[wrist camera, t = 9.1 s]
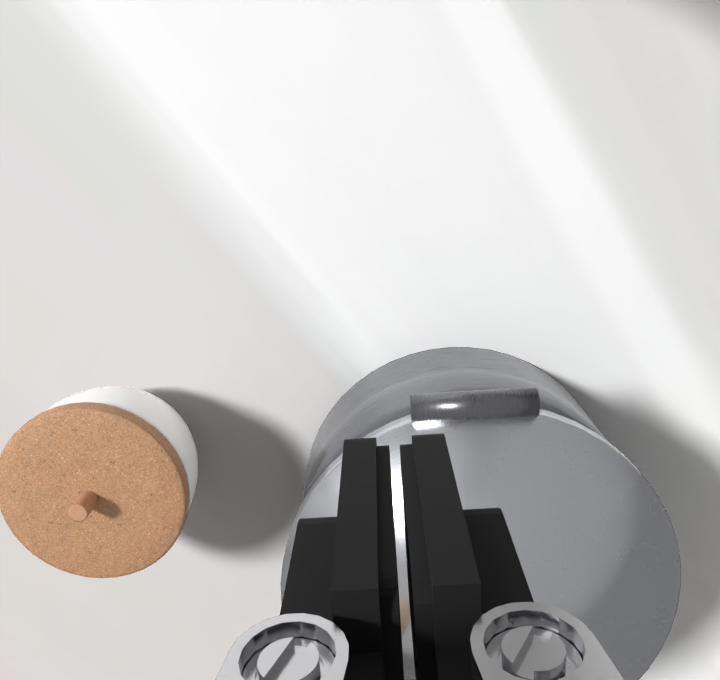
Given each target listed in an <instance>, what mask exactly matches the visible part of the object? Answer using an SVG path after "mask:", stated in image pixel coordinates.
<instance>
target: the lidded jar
mask: <svg viewBox="0 0 720 680" xmlns="http://www.w3.org/2000/svg"><path fill="white" fill-rule="evenodd" d="M197 478H198V456H197V450H196V446H195V443H194V440H193V437H192V434H191V432H190V430H189V428H188V426H187V424H186V423H185V421H184V420H183V419H182V417H181V416H180V415H179V414H178V413H177V412H176V411H175V410H174V409H173V408H172V407H171V406H170V405H169V404H167V403H166V402H165V401H163V400H162V399H160V398H159V397H157V396H155V395H153V394H151V393H149V392H146V391H143V390H141V389H137V388H132V387H126V386H101V387H96V388H91V389H87V390H84V391H81V392H78V393H76V394H73V395H71V396H68V397H66V398H64V399H63V400H61V401H59V402H57V403H56V404H54V405H53V406H51V407H49V408H48V409H47V410H45V411H44V412H42V413H41V414H39V415H37V416H36V417H34V418H33V419H31V420H29V421H28V422H27V423H26V424H25V425H23V426H22V427H21V428H20V429H19V430H18V431H17V432H16V433H15V434H14V435H13V436H12V437H11V439H10V440H9V441H8V443H7V444H6V446H5V448H4V450H3V452H2V454H1V456H0V510H1V512H2V515H3V517H4V519H5V521H6V523H7V525H8V526H9V528H10V529H11V531H12V533H13V534H14V535H15V537H16V538H17V539H18V540H19V541H20V542H21V543H22V544H23V545H24V546H25V547H26V548H27V549H28V550H29V551H30V552H31V553H32V554H34V555H35V556H36V557H38V558H40V559H41V560H43V561H44V562H46V563H48V564H50V565H51V566H53V567H55V568H57V569H59V570H62V571H65V572H69V573H72V574H75V575H80V576H85V577H95V578H109V577H119V576H124V575H128V574H132V573H135V572H137V571H140V570H143V569H145V568H146V567H148V566H150V565H152V564H153V563H155V562H156V561H157V560H159V559H160V558H161V557H162V556H164V555H165V554H166V553H167V552H168V550H169V549H170V548H171V547H172V546H173V544H174V543H175V541H176V539H177V538H178V536H179V534H180V533H181V531H182V528H183V526H184V523H185V520H186V518H187V515H188V511H189V508H190V505H191V503H192V500H193V497H194V493H195V489H196V484H197Z"/></svg>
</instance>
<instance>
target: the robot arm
mask: <svg viewBox="0 0 720 680" xmlns="http://www.w3.org/2000/svg"><path fill="white" fill-rule="evenodd" d="M400 461H401V477H402V494H403V510H404V527H405V543H406V560H407V576H408V592H409V605H410V618H411V630H412V642H413V655H414V667H415V679H416V680H624V679H623V677H622V676H621V674H620V673H619V672H618V670H617V669H616V667H615V666H614V664H613V663H612V661H611V660H610V658H609V657H608V655H607V654H606V652H605V651H604V649H603V648H602V646H601V645H600V643H599V642H598V640H597V639H596V637H595V636H594V634H593V633H592V632H591V631H590V630H589V629H588V627H587V626H586V625H585V624H584V623H583V622H582V621H581V620H579V619H578V618H576V617H574V616H573V615H571V614H570V613H568V612H567V611H564V610H561V609H559V608H556V607H553V606H550V605H547V604H540V603H534V601H533V598H532V595H531V592H530V589H529V586H528V584H527V581H526V578H525V575H524V572H523V569H522V566H521V564H520V561H519V558H518V555H517V552H516V549H515V546H514V544H513V541H512V538H511V535H510V532H509V529H508V526H507V524H506V521H505V518H504V515H503V512H502V510H501V508H483V509H465V510H463V508H462V504H461V500H460V496H459V492H458V488H457V484H456V480H455V475H454V471H453V467H452V463H451V459H450V455H449V451H448V447H447V443H446V439H445V435H444V433H443V434H426V435H412V444H403V445H400ZM215 680H404V668H403V652H402V635H401V619H400V602H399V586H398V571H397V556H396V541H395V525H394V510H393V495H392V479H391V464H390V449H389V445H385V446H377V441H376V438H359V439H344V444H343V455H342V466H341V477H340V488H339V499H338V510H337V517H319V518H301V519H299V520H298V524H297V528H296V534H295V539H294V544H293V549H292V554H291V560H290V565H289V570H288V575H287V581H286V586H285V591H284V596H283V601H282V607H281V612H280V616H276V617H272V618H268V619H266V620H264V621H262V622H260V623H258V624H256V625H254V626H252V627H250V628H249V629H248V630H247V631H246V632H244V633H243V634H242V635H241V636H240V637H238V638H237V640H236V641H235V643H234V644H233V646H232V647H231V649H230V650H229V652H228V654H227V656H226V658H225V660H224V662H223V664H222V666H221V668H220V670H219V673H218V675H217V677H216V679H215Z"/></svg>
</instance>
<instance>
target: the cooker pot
mask: <svg viewBox="0 0 720 680" xmlns="http://www.w3.org/2000/svg"><path fill="white" fill-rule="evenodd" d="M521 387H537V389H538V393H539V398H540V409H542V410H546V411H550V412H553V413H555V414H558V415H561V416H563V417H566V418H568V419H571V420H573V421H576V422H578V423H579V424H581V425H583V426H585V427H587V428H588V429H590V430H592V431H594V432H595V433H597V434H599V435H600V436H602V437H603V438H604V439H606V438H605V437H604V435H603V434H602V433H601V432H600V430H599V429H598V428H597V427H596V425H595V424H594V423H593V421H592V420H591V419H590V418H589V416H588V415H587V414H586V412H585V411H584V410H583V409H582V407H581V406H580V405H579V403H578V402H577V401H576V400H575V398H574V397H573V396H572V395H571V394H570V393H569V392H568V391H567V390H566V389H565V388H564V387H563V386H562V385H561V384H560V383H559V382H557V381H556V380H555V379H553V378H552V377H551V376H550V375H548V374H547V373H546V372H544V371H542V370H541V369H539V368H537V367H535V366H533V365H532V364H530V363H528V362H526V361H523V360H521V359H518V358H516V357H513V356H511V355H508V354H504V353H500V352H496V351H492V350H487V349H479V348H471V347H448V348H440V349H432V350H426V351H422V352H418V353H414V354H410V355H407V356H405V357H402V358H399V359H397V360H394V361H392V362H389V363H387V364H386V365H384V366H382V367H380V368H378V369H376V370H375V371H373V372H371V373H370V374H368V375H367V376H366V377H364V378H363V379H361V380H360V381H359V382H357V383H356V384H355V385H354V386H353V387H352V388H351V389H350V390H348V391H347V392H346V393H345V394H344V395H343V396H342V397H341V398H340V400H339V401H338V402H337V403H336V405H335V406H334V407H333V408H332V410H331V411H330V412H329V414H328V415H327V417H326V419H325V420H324V422H323V424H322V425H321V427H320V429H319V431H318V434H317V436H316V438H315V441H314V443H313V446H312V450H311V454H310V457H309V461H308V466H307V471H306V477H305V482H304V487H303V492H302V497H301V502H300V505H301V504H302V502H303V500H304V499H305V497H306V495H307V494H308V492H309V490H310V489H311V487H312V486H313V484H314V483H315V482H316V481H317V479H318V478H319V477H320V476H321V474H322V473H323V472H324V471H325V470H326V468H327V467H328V466H329V465H330V464H331V463H332V462H333V461H334V460H336V459H337V458H338V457H339V456H340V455H341V454H342V453H343V444H344V439H359V438H363V437H365V436H366V435H367V434H369V433H371V432H373V431H375V430H377V429H378V428H380V427H382V426H384V425H386V424H388V423H390V422H392V421H394V420H397V419H400V418H402V417H405V416H407V415H410V414H411V413H410V394H423V393H440V392H456V391H472V390H489V389H505V388H521ZM606 440H607V439H606ZM299 508H300V507H299Z"/></svg>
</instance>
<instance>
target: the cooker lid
mask: <svg viewBox="0 0 720 680" xmlns="http://www.w3.org/2000/svg"><path fill="white" fill-rule="evenodd" d="M410 413H411V414H410V415H407V416H405V417H402V418H400V419H397V420H394V421H392V422H390V423H388V424H386V425H384V426H382V427H380V428H378V429H377V430H375V431H373V432H371V433H369V434H367V435H366V436H365V437H363V438H376V441H377V446H385V445H389V449H390V464H391V479H392V495H393V510H394V525H395V541H396V556H397V571H398V586H399V602H400V619H401V635H402V652H403V668H404V680H416V679H415V667H414V655H413V642H412V630H411V618H410V605H409V592H408V576H407V560H406V543H405V527H404V510H403V494H402V477H401V461H400V445H403V444H412V435H426V434H443V433H444V435H445V439H446V443H447V447H448V451H449V455H450V459H451V463H452V467H453V471H454V475H455V480H456V484H457V488H458V492H459V496H460V500H461V504H462V508H463V510H465V509H483V508H501V510H502V512H503V515H504V518H505V521H506V524H507V526H508V529H509V532H510V535H511V538H512V541H513V544H514V546H515V549H516V552H517V555H518V558H519V561H520V564H521V566H522V569H523V572H524V575H525V578H526V581H527V584H528V586H529V589H530V592H531V595H532V598H533V601H534V603H540V604H547V605H550V606H553V607H556V608H559V609H561V610H564V611H567V612H568V613H570V614H571V615H573V616H574V617H576V618H578V619H579V620H581V621H582V622H583V623H584V624H585V625H586V626H587V627H588V629H589V630H590V631H591V632H592V633H593V634H594V636H595V637H596V639H597V640H598V642H599V643H600V645H601V646H602V648H603V649H604V651H605V652H606V654H607V655H608V657H609V658H610V660H611V661H612V663H613V664H614V666H615V667H616V669H617V670H618V672H619V673H620V674H621V676H622V677H623V679H624V680H639V679H640V678H641V677H642V675H643V674H644V673H645V672H646V671H647V670H648V668H649V667H650V665H651V664H652V662H653V661H654V659H655V658H656V656H657V655H658V653H659V652H660V650H661V648H662V646H663V644H664V642H665V640H666V638H667V635H668V633H669V631H670V629H671V626H672V623H673V620H674V616H675V613H676V610H677V606H678V599H679V593H680V586H681V562H680V556H679V550H678V544H677V539H676V536H675V533H674V530H673V527H672V524H671V521H670V518H669V516H668V514H667V512H666V510H665V508H664V506H663V505H662V503H661V501H660V499H659V497H658V496H657V494H656V493H655V491H654V490H653V489H652V487H651V486H650V485H649V483H648V482H647V481H646V479H645V478H644V477H643V475H642V474H641V473H640V472H639V470H638V469H637V468H636V467H635V466H634V465H633V464H632V463H631V462H630V461H629V459H628V458H627V457H626V456H625V455H624V454H623V453H622V452H621V451H620V450H619V449H617V448H616V447H615V446H613V445H612V444H611V443H609V442H608V441H607V440H606V439H604V438H603V437H602V436H600V435H599V434H597V433H595V432H594V431H592V430H590V429H588V428H587V427H585V426H583V425H581V424H579V423H578V422H576V421H573V420H571V419H568V418H566V417H563V416H561V415H558V414H555V413H553V412H550V411H546V410H542V409H540V398H539V393H538V389H537V387H521V388H505V389H489V390H472V391H456V392H440V393H423V394H410ZM342 455H343V453H342V454H341V455H340V456H339V457H338V458H337V459H336V460H334V461H333V462H332V463H331V464H330V465H329V466H328V467H327V468H326V470H325V471H324V472H323V473H322V474H321V476H320V477H319V478H318V479H317V481H316V482H315V483H314V484H313V486H312V487H311V489H310V490H309V492H308V494H307V495H306V497H305V499H304V500H303V502H302V504H301V505H300V508H299V510H298V512H297V515H296V517H295V519H294V522H293V524H292V526H291V530H290V534H289V538H288V541H287V545H286V549H285V554H284V559H283V567H282V576H281V600H282V601H283V596H284V591H285V586H286V581H287V575H288V570H289V565H290V560H291V554H292V549H293V544H294V539H295V534H296V528H297V524H298V520H299V519H301V518H319V517H337V510H338V499H339V488H340V477H341V466H342Z"/></svg>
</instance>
